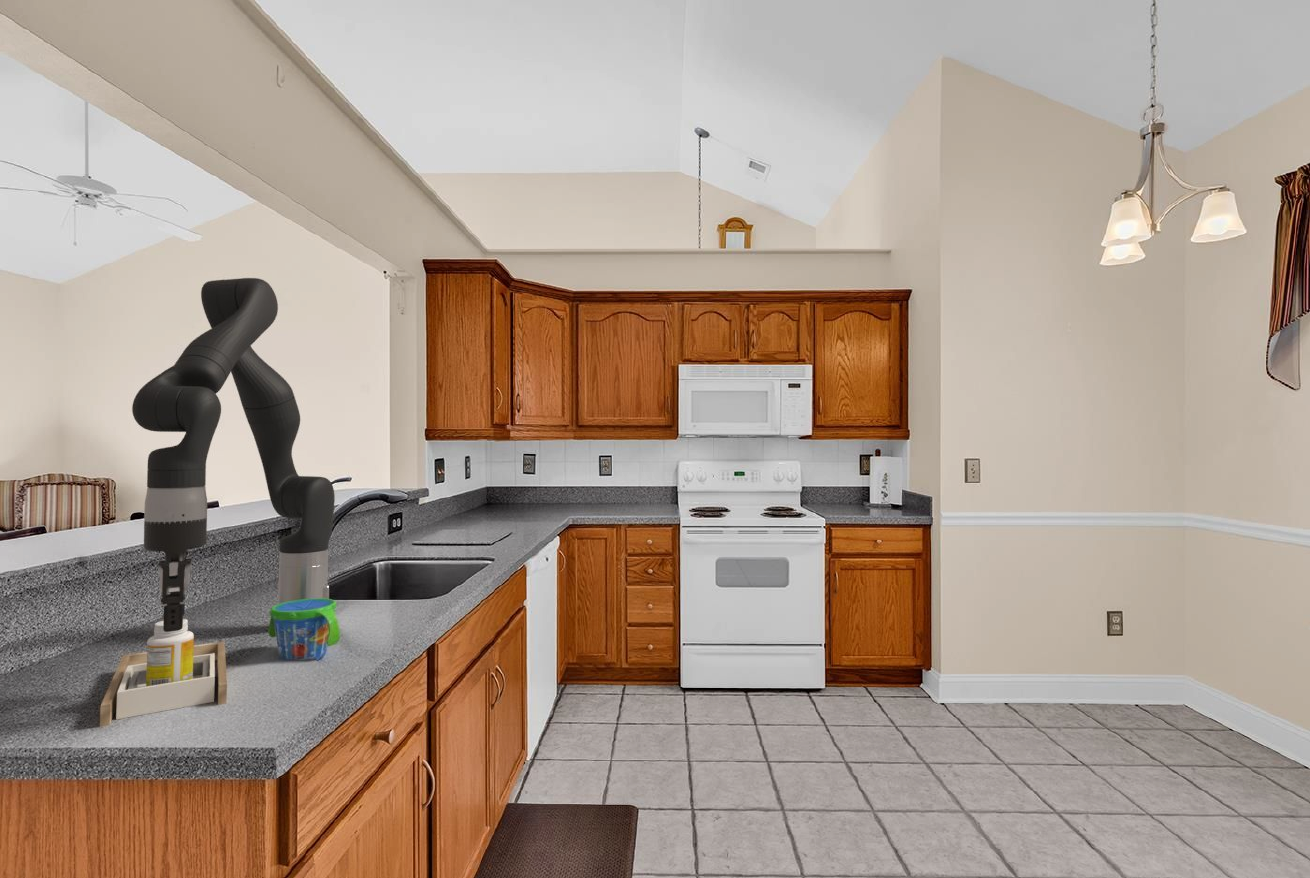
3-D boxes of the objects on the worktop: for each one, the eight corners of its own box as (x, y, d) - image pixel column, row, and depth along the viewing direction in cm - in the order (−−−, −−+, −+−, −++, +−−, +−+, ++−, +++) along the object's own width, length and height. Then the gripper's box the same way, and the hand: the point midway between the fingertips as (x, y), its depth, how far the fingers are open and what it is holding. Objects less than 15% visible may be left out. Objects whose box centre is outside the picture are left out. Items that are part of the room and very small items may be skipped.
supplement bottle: (187, 680, 96) (189, 615, 96) (196, 689, 93) (199, 621, 93) (141, 690, 92) (144, 622, 92) (150, 700, 88) (152, 629, 89)
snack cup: (248, 660, 113) (250, 605, 113) (303, 645, 122) (305, 593, 122) (301, 675, 106) (303, 616, 106) (355, 657, 115) (357, 603, 115)
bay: (223, 663, 111) (224, 641, 111) (226, 711, 91) (227, 684, 91) (122, 679, 103) (122, 655, 103) (99, 735, 82) (100, 705, 82)
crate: (213, 675, 102) (214, 653, 102) (213, 701, 91) (214, 676, 91) (126, 689, 95) (127, 665, 95) (116, 719, 85) (117, 692, 85)
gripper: (206, 520, 89) (204, 631, 89) (207, 511, 101) (205, 609, 101) (140, 523, 85) (137, 640, 85) (148, 513, 96) (146, 616, 96)
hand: (174, 623), depth 93 cm, fingers open, 8 cm apart
